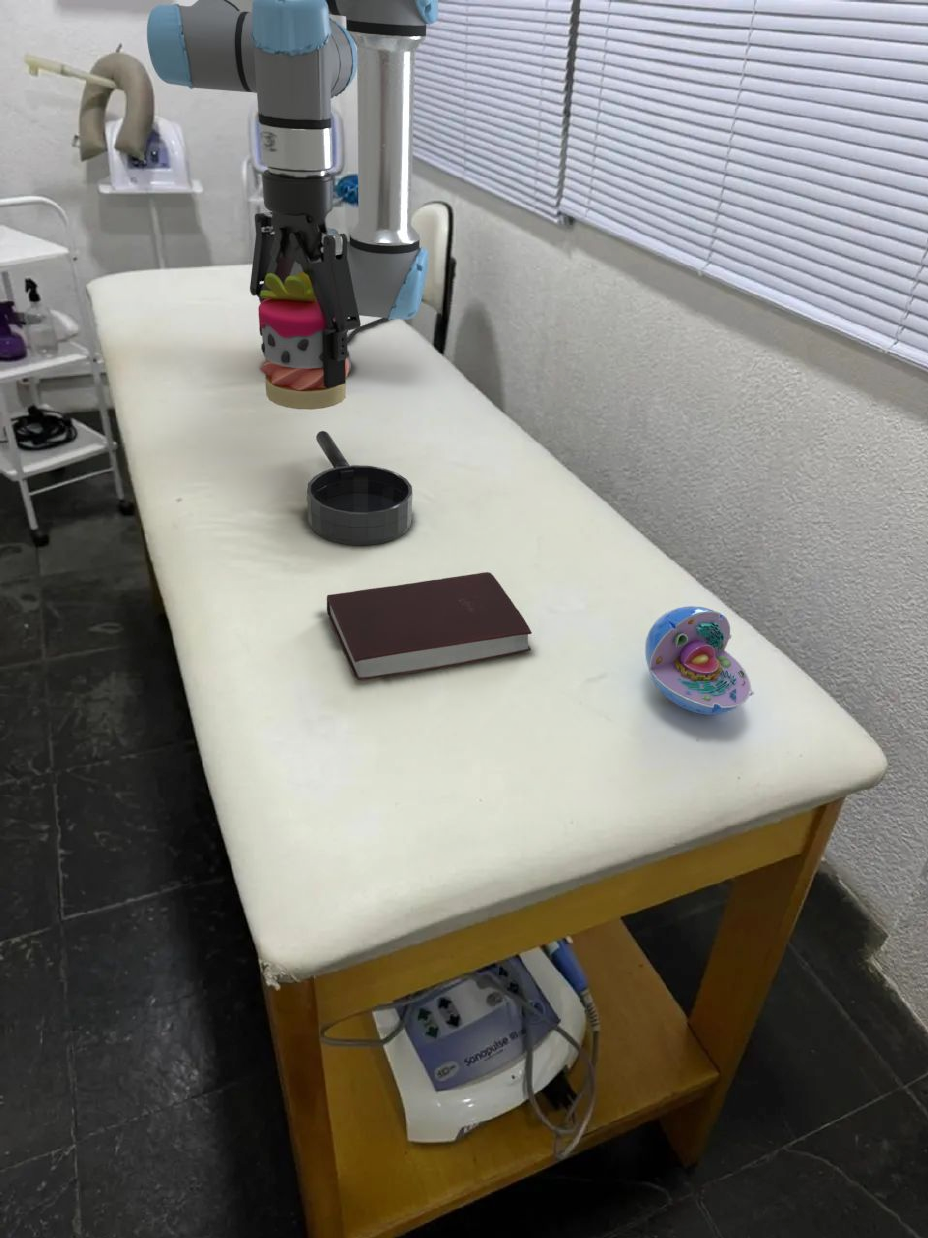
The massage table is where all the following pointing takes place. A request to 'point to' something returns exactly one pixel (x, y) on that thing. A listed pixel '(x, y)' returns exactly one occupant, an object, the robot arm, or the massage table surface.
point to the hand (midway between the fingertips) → (305, 371)
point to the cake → (295, 345)
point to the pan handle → (333, 454)
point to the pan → (359, 505)
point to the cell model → (696, 661)
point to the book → (426, 625)
